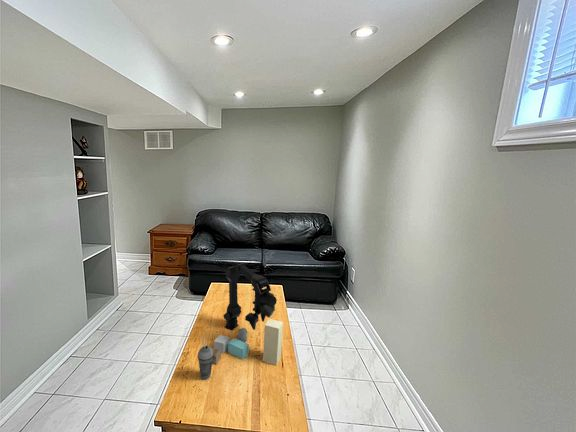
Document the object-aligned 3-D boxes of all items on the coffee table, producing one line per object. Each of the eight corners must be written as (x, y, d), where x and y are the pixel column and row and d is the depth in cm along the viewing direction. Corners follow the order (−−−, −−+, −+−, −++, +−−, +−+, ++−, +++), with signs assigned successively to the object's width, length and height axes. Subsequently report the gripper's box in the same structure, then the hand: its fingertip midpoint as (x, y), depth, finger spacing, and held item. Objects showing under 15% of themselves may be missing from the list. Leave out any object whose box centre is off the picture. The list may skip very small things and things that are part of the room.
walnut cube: (207, 363, 137) (207, 354, 136) (212, 356, 142) (212, 348, 141) (216, 365, 136) (216, 356, 135) (220, 358, 140) (220, 350, 140)
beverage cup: (204, 384, 123) (204, 346, 120) (194, 377, 127) (193, 339, 123) (216, 375, 129) (216, 337, 126) (206, 368, 133) (206, 332, 129)
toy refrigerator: (281, 356, 144) (283, 321, 140) (276, 365, 137) (278, 328, 134) (268, 352, 147) (269, 317, 143) (262, 361, 140) (264, 325, 136)
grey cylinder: (236, 340, 155) (236, 331, 154) (241, 336, 159) (241, 327, 158) (243, 343, 153) (243, 334, 152) (248, 339, 157) (248, 330, 156)
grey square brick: (213, 350, 146) (213, 341, 145) (219, 344, 152) (220, 334, 150) (223, 353, 144) (223, 343, 143) (229, 346, 150) (229, 337, 149)
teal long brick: (228, 352, 145) (228, 342, 144) (234, 347, 149) (234, 337, 148) (242, 359, 141) (243, 349, 139) (248, 354, 145) (248, 344, 144)
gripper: (263, 311, 135) (261, 339, 138) (280, 296, 151) (279, 321, 154) (245, 305, 139) (244, 332, 142) (263, 291, 156) (262, 315, 159)
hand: (258, 325), depth 149 cm, fingers open, 9 cm apart
